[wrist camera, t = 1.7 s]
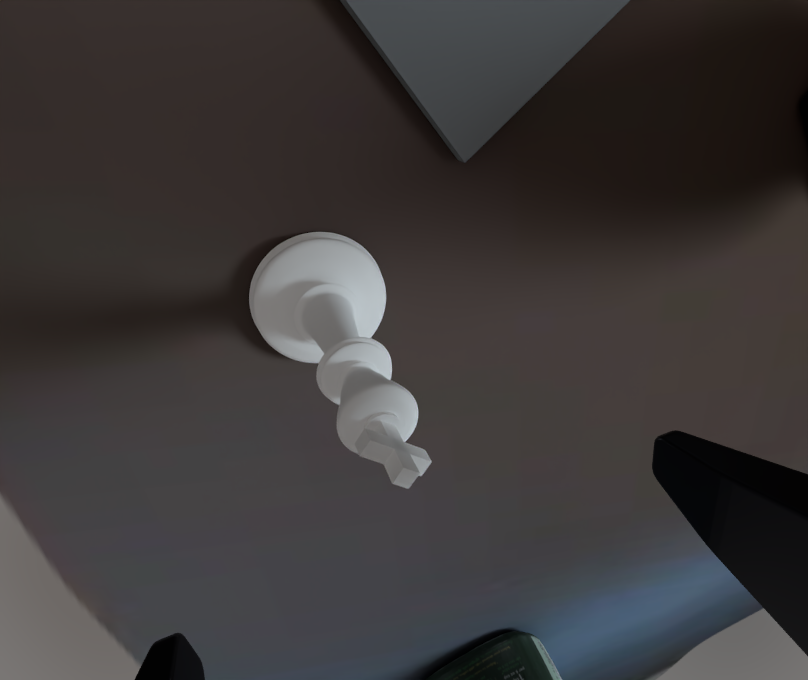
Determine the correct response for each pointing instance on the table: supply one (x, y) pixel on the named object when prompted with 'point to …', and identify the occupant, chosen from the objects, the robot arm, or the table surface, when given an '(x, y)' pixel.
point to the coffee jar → (502, 661)
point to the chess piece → (340, 342)
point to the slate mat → (477, 55)
